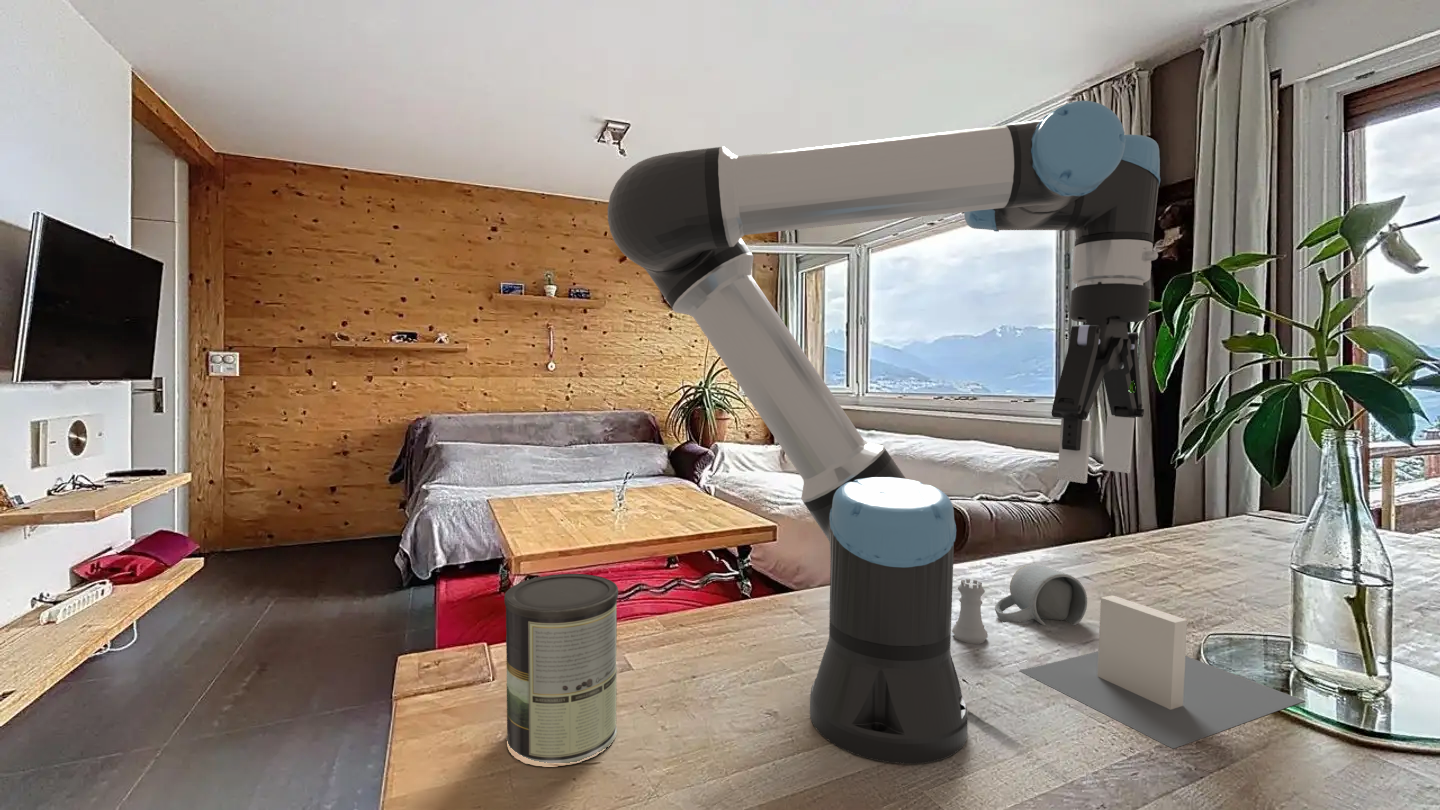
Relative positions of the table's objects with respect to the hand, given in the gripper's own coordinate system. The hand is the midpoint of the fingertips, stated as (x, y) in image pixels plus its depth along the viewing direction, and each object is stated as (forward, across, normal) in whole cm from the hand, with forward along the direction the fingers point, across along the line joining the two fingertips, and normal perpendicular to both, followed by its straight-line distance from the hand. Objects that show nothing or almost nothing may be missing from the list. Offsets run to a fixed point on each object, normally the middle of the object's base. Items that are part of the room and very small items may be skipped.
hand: (1095, 476), depth 75 cm
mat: (+23, +3, -7) cm, 24 cm away
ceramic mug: (+24, +14, +11) cm, 29 cm away
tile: (+22, 0, -6) cm, 23 cm away
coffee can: (+25, -50, +28) cm, 63 cm away
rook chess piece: (+24, -1, +13) cm, 27 cm away
